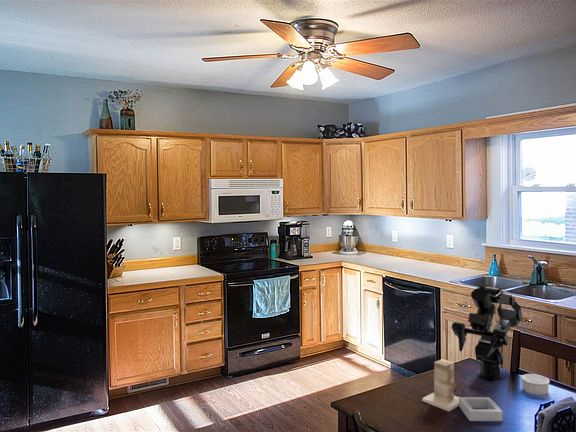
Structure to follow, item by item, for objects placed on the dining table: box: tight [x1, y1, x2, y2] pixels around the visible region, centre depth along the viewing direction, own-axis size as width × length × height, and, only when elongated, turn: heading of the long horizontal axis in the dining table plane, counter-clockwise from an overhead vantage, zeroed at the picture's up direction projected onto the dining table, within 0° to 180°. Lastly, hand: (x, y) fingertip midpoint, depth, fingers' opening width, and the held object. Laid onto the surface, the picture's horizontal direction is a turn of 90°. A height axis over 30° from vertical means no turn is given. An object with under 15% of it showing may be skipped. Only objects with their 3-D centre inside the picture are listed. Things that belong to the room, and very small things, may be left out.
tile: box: [421, 392, 460, 412], centre depth 156 cm, size 10×10×1 cm
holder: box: [458, 396, 504, 422], centre depth 147 cm, size 10×10×3 cm
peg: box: [433, 358, 455, 403], centre depth 155 cm, size 4×4×12 cm
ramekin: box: [520, 373, 550, 396], centre depth 164 cm, size 9×9×4 cm
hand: (473, 353), depth 163 cm, fingers open, 9 cm apart
